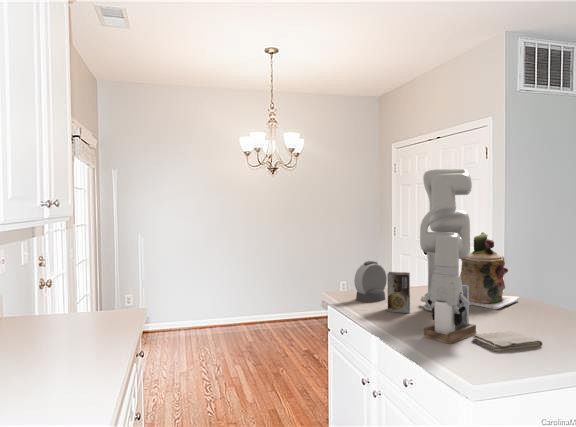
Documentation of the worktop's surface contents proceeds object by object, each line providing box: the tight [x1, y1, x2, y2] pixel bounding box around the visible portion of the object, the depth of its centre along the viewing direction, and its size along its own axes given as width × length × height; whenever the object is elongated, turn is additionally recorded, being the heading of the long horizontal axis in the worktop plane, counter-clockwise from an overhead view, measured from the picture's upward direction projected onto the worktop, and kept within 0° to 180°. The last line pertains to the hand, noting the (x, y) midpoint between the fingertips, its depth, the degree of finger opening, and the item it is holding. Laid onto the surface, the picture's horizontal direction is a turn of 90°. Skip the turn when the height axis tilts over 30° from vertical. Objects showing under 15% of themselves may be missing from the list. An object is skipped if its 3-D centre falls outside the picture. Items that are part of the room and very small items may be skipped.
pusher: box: [455, 285, 470, 330], centre depth 147 cm, size 7×1×16 cm, turn 39°
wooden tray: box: [423, 322, 477, 345], centre depth 143 cm, size 10×17×3 cm, turn 129°
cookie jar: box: [459, 231, 520, 310], centre depth 192 cm, size 25×25×32 cm
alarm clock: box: [354, 260, 388, 304], centre depth 196 cm, size 16×10×18 cm, turn 120°
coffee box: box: [386, 271, 411, 314], centre depth 176 cm, size 9×6×16 cm
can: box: [434, 300, 455, 335], centre depth 141 cm, size 6×6×12 cm
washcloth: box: [471, 330, 543, 353], centre depth 134 cm, size 12×18×3 cm, turn 106°
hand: (446, 321), depth 142 cm, fingers open, 7 cm apart
